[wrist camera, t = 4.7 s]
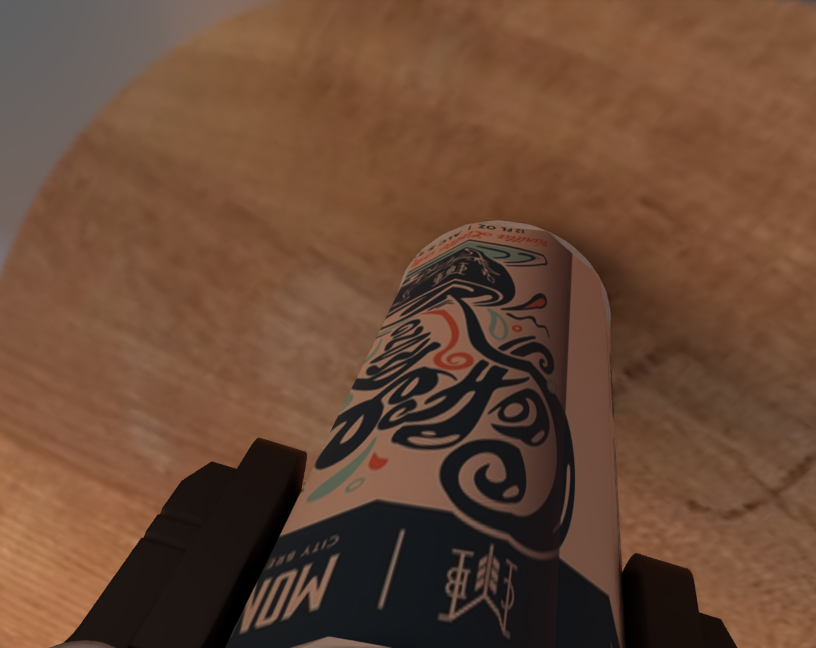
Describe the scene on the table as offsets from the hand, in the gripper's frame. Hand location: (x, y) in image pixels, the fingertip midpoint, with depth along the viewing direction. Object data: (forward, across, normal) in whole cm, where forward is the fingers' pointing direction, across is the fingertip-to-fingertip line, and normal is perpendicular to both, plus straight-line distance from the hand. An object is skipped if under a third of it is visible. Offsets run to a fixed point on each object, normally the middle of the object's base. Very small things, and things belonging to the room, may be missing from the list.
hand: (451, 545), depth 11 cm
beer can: (+8, 0, 0) cm, 8 cm away
